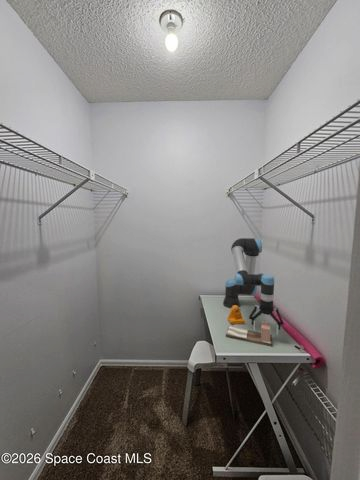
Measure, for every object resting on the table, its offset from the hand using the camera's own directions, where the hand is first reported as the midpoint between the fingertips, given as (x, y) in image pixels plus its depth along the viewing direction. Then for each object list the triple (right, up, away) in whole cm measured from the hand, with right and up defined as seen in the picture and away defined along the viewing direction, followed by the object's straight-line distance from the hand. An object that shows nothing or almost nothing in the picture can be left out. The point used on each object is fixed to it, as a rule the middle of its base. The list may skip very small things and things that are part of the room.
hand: (265, 331), depth 131 cm
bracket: (-12, -4, +24) cm, 27 cm away
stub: (0, -3, 0) cm, 4 cm away
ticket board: (-9, -5, +4) cm, 11 cm away
